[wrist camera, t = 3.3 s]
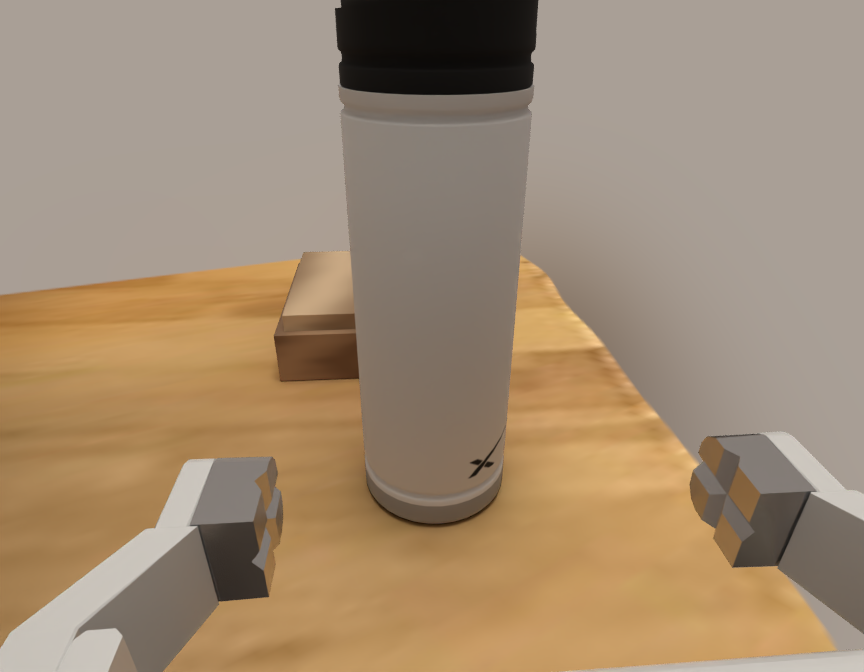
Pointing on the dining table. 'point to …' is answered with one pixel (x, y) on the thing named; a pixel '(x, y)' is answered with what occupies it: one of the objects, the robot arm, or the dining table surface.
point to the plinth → (319, 321)
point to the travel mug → (435, 238)
